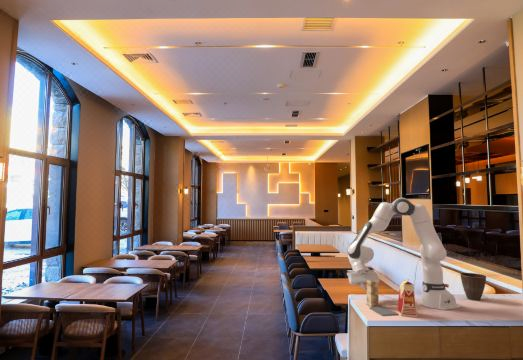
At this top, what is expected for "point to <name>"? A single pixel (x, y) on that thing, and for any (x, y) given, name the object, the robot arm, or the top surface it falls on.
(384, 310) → the mat
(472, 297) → the plant pot
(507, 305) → the top surface
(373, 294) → the block
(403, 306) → the red figurine
